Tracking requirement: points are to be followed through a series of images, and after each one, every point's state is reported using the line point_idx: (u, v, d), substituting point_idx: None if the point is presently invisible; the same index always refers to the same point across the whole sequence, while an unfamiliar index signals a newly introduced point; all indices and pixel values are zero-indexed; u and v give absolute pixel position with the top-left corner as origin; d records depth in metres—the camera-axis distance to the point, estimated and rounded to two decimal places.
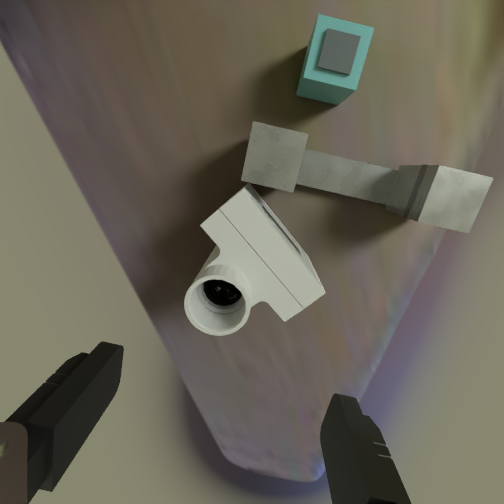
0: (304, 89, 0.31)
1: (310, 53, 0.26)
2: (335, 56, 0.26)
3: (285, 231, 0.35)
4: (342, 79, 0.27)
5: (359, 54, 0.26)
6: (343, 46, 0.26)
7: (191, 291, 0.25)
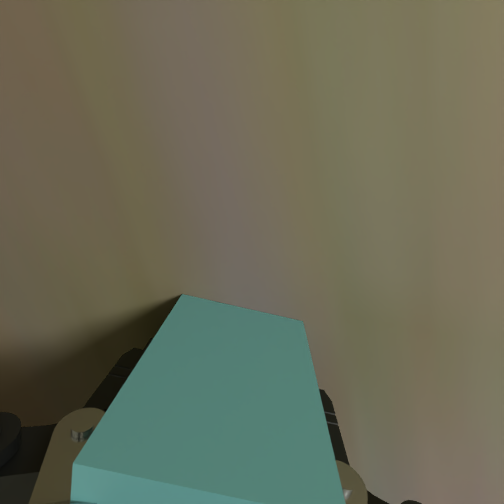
0: None
1: None
2: None
3: None
4: None
5: None
6: None
7: None
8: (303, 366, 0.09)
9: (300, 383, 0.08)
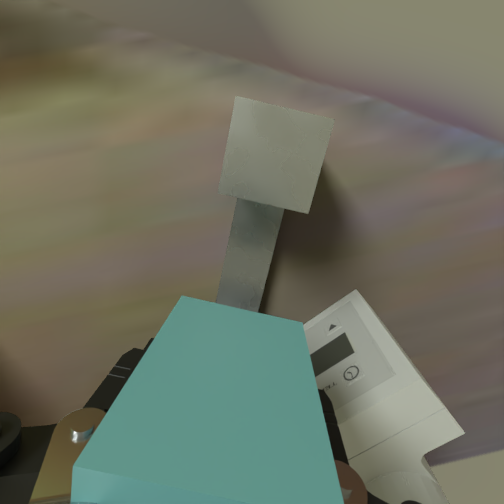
0: None
1: None
2: None
3: (318, 339, 0.26)
4: None
5: None
6: None
7: None
8: (303, 368, 0.09)
9: (299, 385, 0.08)
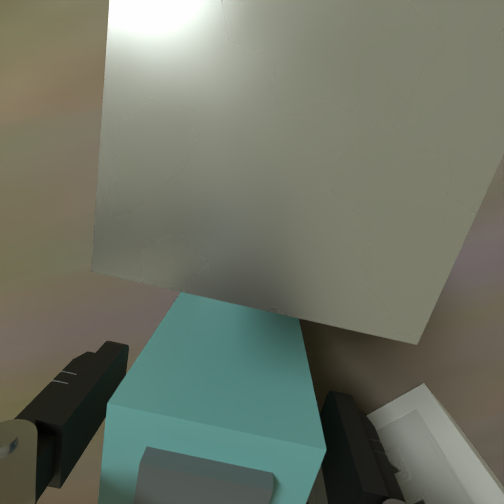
0: None
1: (103, 498, 0.07)
2: None
3: None
4: None
5: None
6: None
7: None
8: (294, 341, 0.11)
9: (291, 354, 0.10)
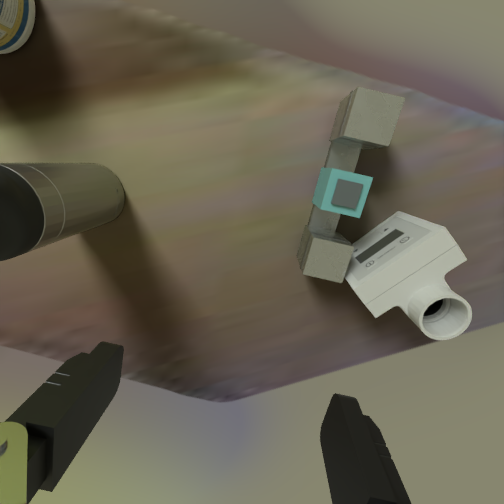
0: None
1: (325, 193, 0.36)
2: (344, 197, 0.35)
3: (377, 237, 0.42)
4: (349, 210, 0.36)
5: (362, 194, 0.36)
6: (350, 190, 0.35)
7: (429, 334, 0.33)
8: None
9: None
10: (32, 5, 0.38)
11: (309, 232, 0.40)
